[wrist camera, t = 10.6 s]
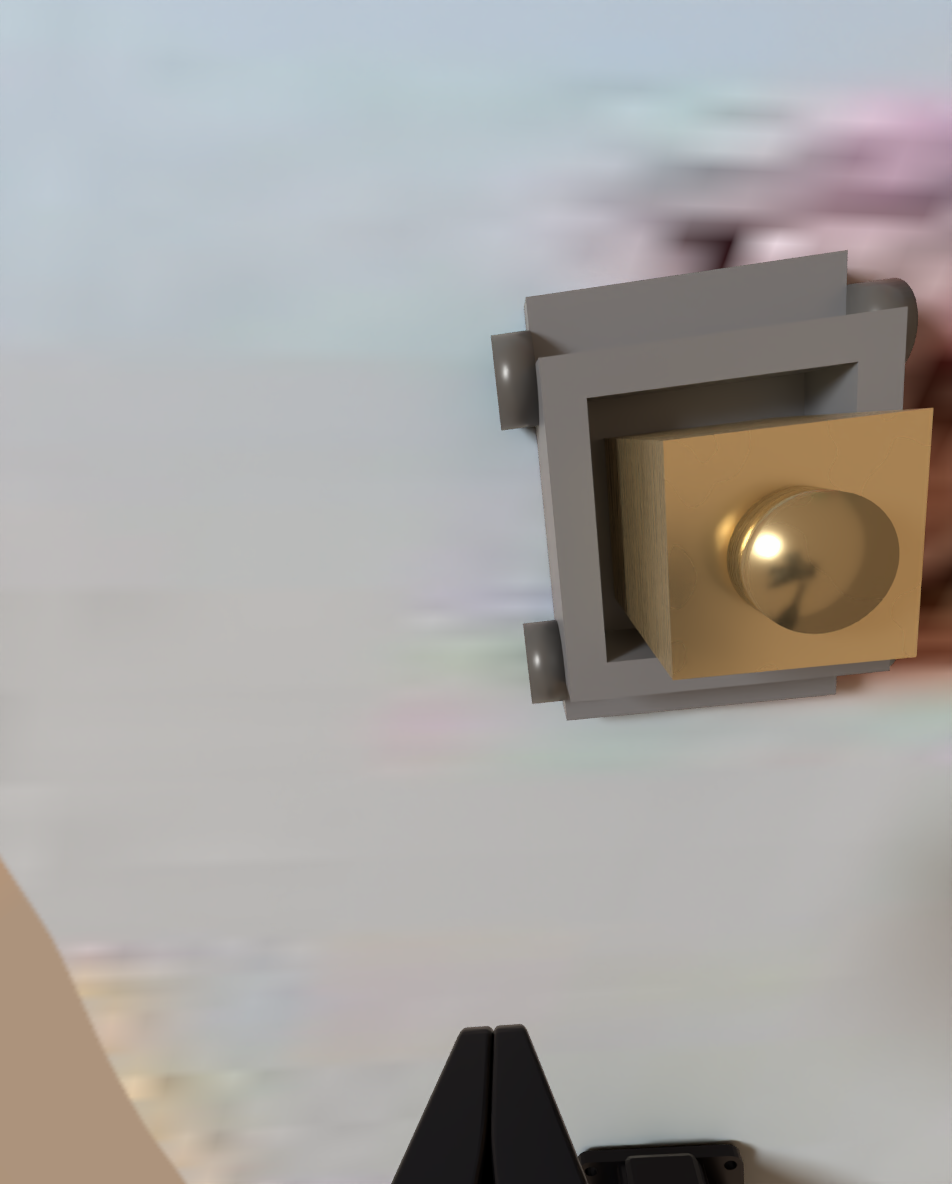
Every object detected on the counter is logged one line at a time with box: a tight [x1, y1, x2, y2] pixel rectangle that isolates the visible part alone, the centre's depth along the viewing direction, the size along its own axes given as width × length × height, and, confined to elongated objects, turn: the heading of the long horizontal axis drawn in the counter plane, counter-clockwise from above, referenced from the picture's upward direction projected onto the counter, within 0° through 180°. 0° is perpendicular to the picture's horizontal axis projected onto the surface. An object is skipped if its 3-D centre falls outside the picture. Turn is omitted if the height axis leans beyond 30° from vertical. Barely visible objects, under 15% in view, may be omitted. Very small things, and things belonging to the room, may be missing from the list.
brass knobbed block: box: [604, 408, 933, 680], centre depth 13 cm, size 4×4×7 cm
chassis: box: [491, 250, 918, 720], centre depth 16 cm, size 12×10×4 cm
